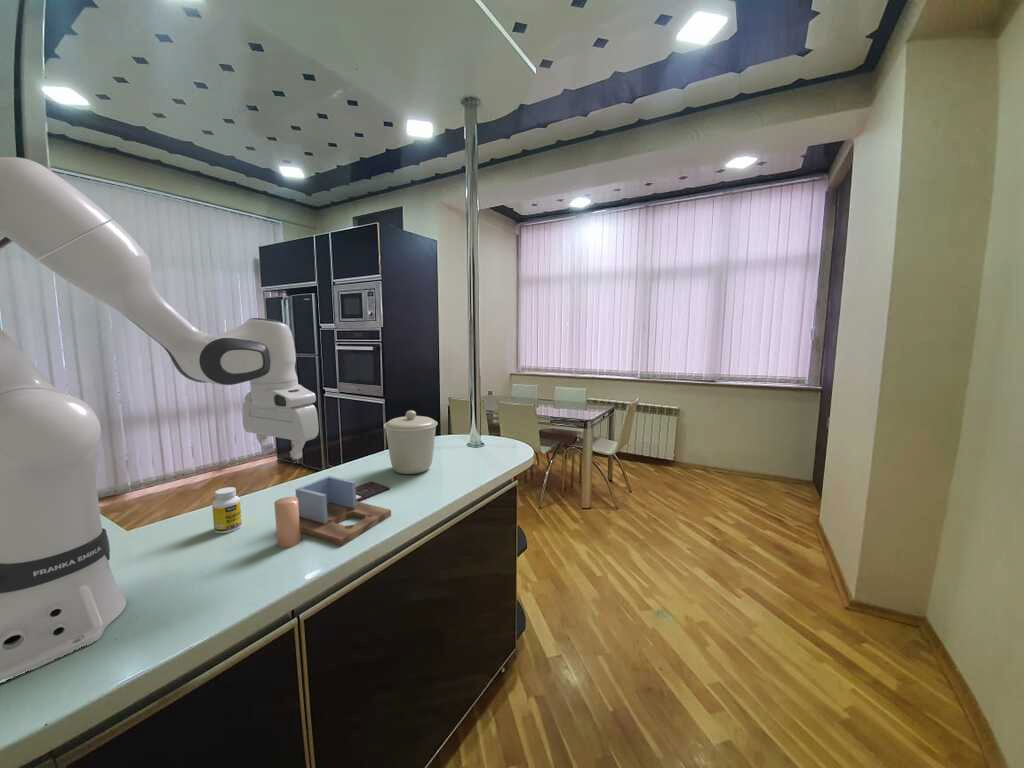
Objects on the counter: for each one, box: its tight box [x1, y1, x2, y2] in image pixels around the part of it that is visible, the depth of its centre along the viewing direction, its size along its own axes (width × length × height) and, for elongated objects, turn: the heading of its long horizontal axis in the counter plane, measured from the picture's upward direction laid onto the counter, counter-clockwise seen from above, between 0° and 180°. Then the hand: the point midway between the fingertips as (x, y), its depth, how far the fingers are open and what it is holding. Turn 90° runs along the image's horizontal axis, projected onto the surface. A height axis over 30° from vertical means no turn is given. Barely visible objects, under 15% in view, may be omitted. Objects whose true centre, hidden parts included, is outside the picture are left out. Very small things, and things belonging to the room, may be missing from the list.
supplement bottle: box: [211, 486, 243, 534], centre depth 93 cm, size 5×5×10 cm
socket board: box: [299, 501, 392, 547], centre depth 97 cm, size 16×20×2 cm
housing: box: [295, 475, 357, 524], centre depth 98 cm, size 10×10×7 cm
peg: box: [273, 496, 302, 549], centre depth 87 cm, size 5×5×10 cm
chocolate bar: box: [355, 481, 391, 502], centre depth 113 cm, size 9×1×18 cm
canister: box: [383, 409, 438, 475], centre depth 133 cm, size 18×18×21 cm
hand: (282, 455), depth 85 cm, fingers open, 8 cm apart
